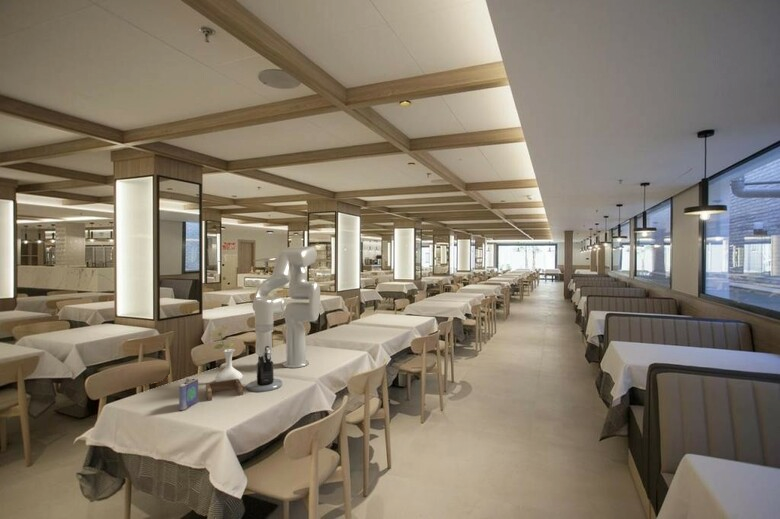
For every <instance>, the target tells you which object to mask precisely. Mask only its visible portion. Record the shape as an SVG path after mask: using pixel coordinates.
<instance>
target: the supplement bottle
mask: <svg viewBox="0 0 780 519" xmlns="http://www.w3.org/2000/svg"><path fill="white" fill-rule="evenodd" d="M265 355H266V354H265ZM258 357H259V362H258V361H257V363H256V380H257V384H258V385H261V386H265V385H270V384H272V383H273V381H274V379H275V377H274V362H273V360H271V371H269V372H263V362H264V359H263V356H262V357H260V356H258ZM265 359H266V357H265Z"/></svg>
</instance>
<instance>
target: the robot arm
mask: <svg viewBox="0 0 780 519" xmlns="http://www.w3.org/2000/svg"><path fill="white" fill-rule="evenodd" d="M317 258H318V252H317V249H316V247H314V246H289V247H288V246H287V247H286V248H284V249H283V250H281V251H279V253H278V255H277V259H276V262H275V265H274V267H273V270H272V274H271V275H270V276H269V277H268V278H267V279H265V280H264V281H262V283H261V284H260V285H259V286H258V287H257V289H256V291H255V293H254V296H253V300H252V309H253V311H254V333H256V337H255V338H256V339H255V353H256V354H257V356H258V358H257V360H258V361H257V363H258V362H259V356H260V357H262V356H263V359H264V362H263V372H269V371H271V361H272V354H273V339H272V332H274V324H275V323H274V322H275V320H274V315H275V314H276V315H279V314H282V313H283V316H284V320H285V333H286V334H285V336H286V338H285V340H286V343H285V344H286V356H285V357H286V361H284V362H283V367H284V368H289V369H296V368H303V367H307V366H308V365H309V364H310V361H309V360H308V359H307V358H306V357H307V354H306V352H307V350H306V349H307V348H306V327H305V325H304V323H303V322H310V323H311V322H316V321H317V320H318V318H319V315H320V306H321V304H320V303H321V286H320V284H319V282H317V281H313V280H310V281H307V280H308V279H307V278H308V276H307V275H308V272H307V269H306V267H309V266H311V265H312V264H314V263H315V262H316V261H317ZM287 284H289V286H288V296H289V298H290V299H292V300H296V301H297V302H296V301H295V302H289V303H287V301H286V299H285V298H284V297H281V296H267V295H268V294H269V293H271V291H274V290H276V289H278V288H281V287H282V286H285V285H287ZM299 301H301V302H299ZM303 301H308V302H303ZM265 354H266V355H265ZM265 357H266V359H265Z"/></svg>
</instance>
